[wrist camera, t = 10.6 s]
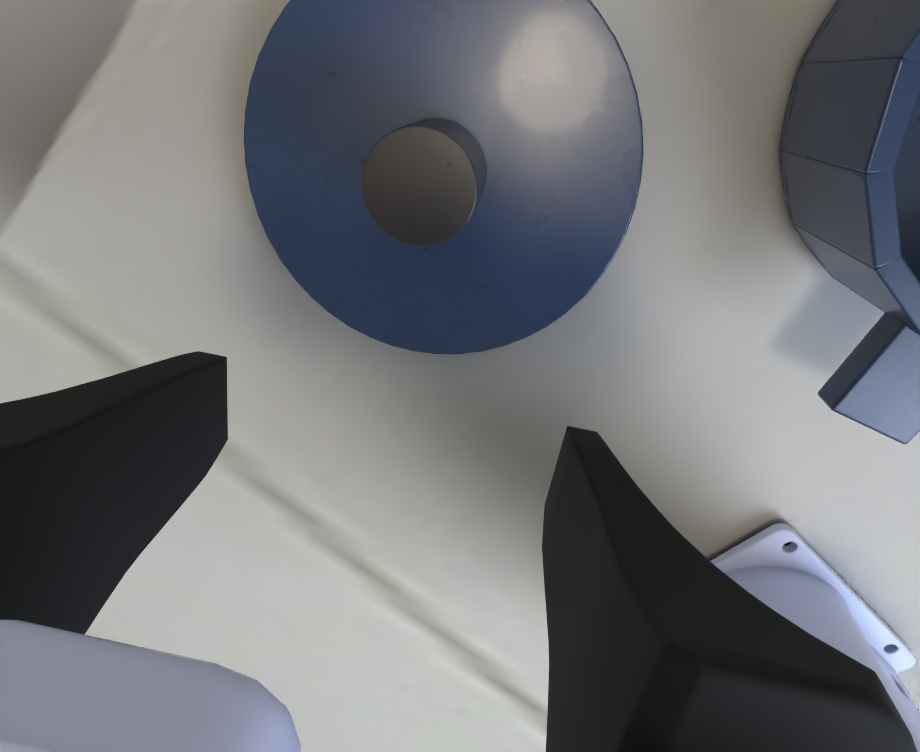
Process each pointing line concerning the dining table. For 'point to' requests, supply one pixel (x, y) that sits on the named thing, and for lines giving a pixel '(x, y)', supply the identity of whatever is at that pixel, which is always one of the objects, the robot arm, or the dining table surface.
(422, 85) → the lid
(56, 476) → the robot arm
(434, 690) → the dining table surface
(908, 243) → the pot
